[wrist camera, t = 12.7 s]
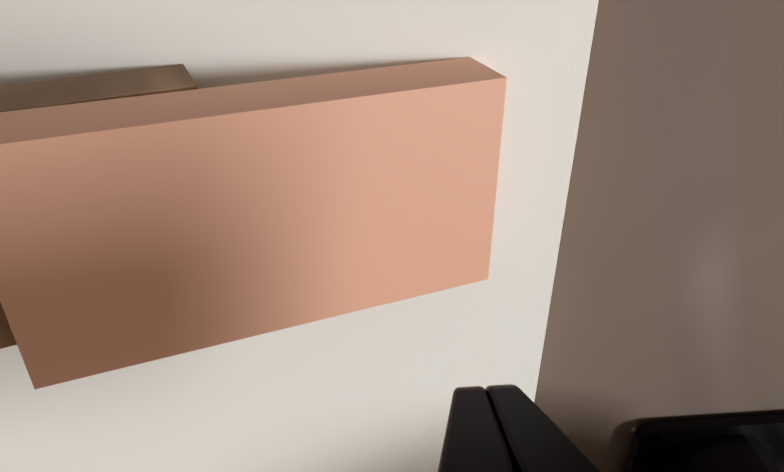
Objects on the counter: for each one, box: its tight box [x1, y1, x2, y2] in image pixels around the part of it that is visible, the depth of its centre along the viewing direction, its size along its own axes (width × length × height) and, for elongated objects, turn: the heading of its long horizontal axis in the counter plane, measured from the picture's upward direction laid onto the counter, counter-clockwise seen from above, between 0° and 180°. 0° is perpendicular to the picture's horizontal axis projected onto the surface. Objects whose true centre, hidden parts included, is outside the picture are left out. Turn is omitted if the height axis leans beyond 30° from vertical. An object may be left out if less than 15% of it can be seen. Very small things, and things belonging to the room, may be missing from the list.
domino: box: [0, 57, 507, 389], centre depth 14 cm, size 2×5×10 cm
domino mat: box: [0, 0, 599, 472], centre depth 17 cm, size 23×18×1 cm
